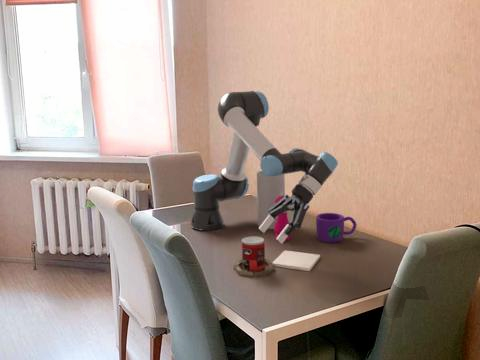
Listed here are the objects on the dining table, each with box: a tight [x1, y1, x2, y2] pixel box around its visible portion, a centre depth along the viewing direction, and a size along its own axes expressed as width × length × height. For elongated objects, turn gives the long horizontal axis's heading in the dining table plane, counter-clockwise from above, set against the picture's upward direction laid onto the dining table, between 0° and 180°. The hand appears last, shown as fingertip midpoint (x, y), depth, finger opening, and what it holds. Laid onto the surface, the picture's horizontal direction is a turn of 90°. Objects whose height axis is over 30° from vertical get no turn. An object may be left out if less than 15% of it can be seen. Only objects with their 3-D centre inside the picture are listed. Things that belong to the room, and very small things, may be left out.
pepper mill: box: [273, 193, 291, 242], centre depth 195 cm, size 7×7×20 cm
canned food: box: [241, 235, 266, 271], centre depth 166 cm, size 8×8×11 cm
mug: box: [315, 212, 358, 244], centre depth 195 cm, size 17×11×10 cm, turn 101°
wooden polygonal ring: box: [233, 258, 275, 278], centre depth 167 cm, size 13×13×2 cm
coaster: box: [272, 250, 321, 272], centre depth 172 cm, size 14×14×1 cm
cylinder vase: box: [256, 170, 286, 230], centre depth 214 cm, size 12×12×25 cm
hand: (269, 235), depth 167 cm, fingers open, 13 cm apart
